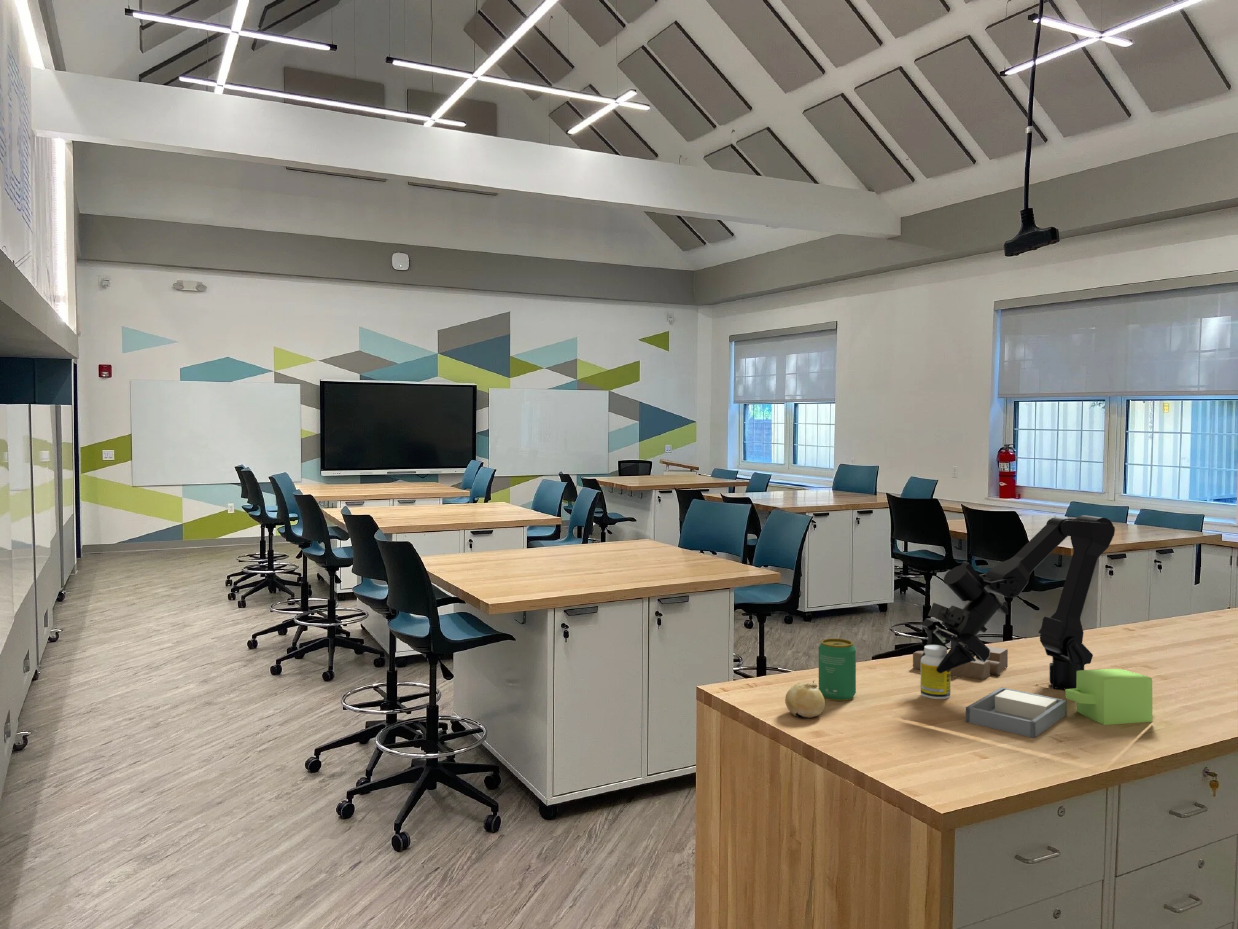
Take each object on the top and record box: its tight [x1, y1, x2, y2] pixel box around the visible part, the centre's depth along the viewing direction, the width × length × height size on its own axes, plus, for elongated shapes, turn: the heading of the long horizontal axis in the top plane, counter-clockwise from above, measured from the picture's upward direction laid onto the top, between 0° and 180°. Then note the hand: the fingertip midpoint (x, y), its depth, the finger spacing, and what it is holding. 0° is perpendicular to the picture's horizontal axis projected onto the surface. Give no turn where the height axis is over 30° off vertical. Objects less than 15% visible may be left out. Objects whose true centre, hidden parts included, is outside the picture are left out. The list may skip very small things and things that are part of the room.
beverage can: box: [818, 638, 857, 702], centre depth 189 cm, size 8×8×12 cm
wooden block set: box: [912, 645, 1009, 680], centre depth 210 cm, size 17×6×18 cm
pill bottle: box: [920, 644, 951, 700], centre depth 188 cm, size 6×6×11 cm
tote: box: [965, 686, 1068, 739], centre depth 172 cm, size 18×13×4 cm
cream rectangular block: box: [995, 690, 1057, 719], centre depth 175 cm, size 6×10×3 cm, turn 45°
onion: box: [784, 680, 826, 718], centre depth 177 cm, size 8×8×7 cm
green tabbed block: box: [1064, 668, 1153, 726], centre depth 174 cm, size 18×10×10 cm, turn 99°
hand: (929, 667), depth 187 cm, fingers closed on pill bottle, 6 cm apart
